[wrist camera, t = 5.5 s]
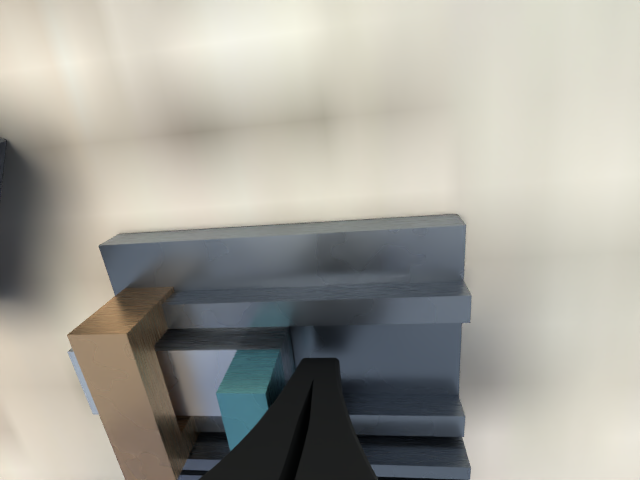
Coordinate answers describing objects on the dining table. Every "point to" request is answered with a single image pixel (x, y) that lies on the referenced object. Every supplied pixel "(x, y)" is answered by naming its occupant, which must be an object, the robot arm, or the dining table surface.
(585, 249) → the dining table surface
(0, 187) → the electrical switch
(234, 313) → the base
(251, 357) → the white and teal block
